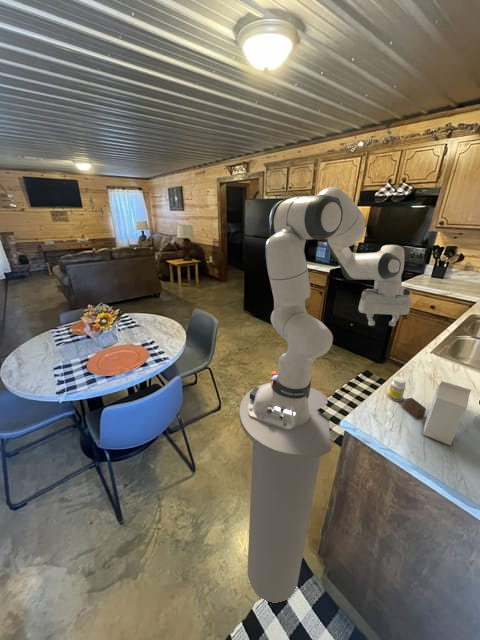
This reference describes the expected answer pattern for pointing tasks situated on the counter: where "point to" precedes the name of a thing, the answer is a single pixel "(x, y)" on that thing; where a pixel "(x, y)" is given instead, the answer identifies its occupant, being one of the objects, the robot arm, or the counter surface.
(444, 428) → the milk carton
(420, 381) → the counter surface
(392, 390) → the supplement bottle
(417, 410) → the brown wooden block
